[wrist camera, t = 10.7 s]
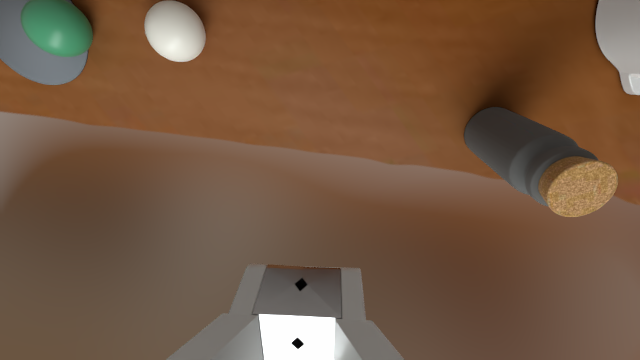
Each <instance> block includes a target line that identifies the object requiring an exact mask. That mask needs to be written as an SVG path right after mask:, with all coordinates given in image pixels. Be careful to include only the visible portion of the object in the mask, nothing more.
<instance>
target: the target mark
mask: <svg viewBox="0 0 640 360" xmlns="http://www.w3.org/2000/svg"><path fill="white" fill-rule="evenodd" d="M28 1H30V0H0V59H1V60H2V61H3V62H4V63H6V64H7V65H8V66H9V67H10V68H12V69H13V70H14V71H16V72H17V73H19V74H20V75H22V76H24V77H26V78H28V79H30V80H32V81H35V82H38V83H42V84H48V85H59V84H64V83H67V82H70V81H72V80H73V79H75V78H76V77H77V76H78V75H79V74H80V73H81V72H82V70H83V69H84V67H85V64H86V61H87V57H88V50H87V51H86V52H84V53H83V54H81V55H78V56H74V57H60V56H56V55H53V54H50V53H48V52H45V51H44V50H42V49H40V48H39V47H38V46H36V45H35V44H34V43H33V42H32V41H31V40H30V39H29V38H28V36H27V35H26V33H25V32H24V30H23V28H22V25H21V19H20V16H21V11H22V8H23V7H24V5H25V4H26V3H27V2H28ZM65 1H67V2H69V3H71V4H73V3H72V1H71V0H65ZM73 5H74V4H73Z"/></svg>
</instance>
